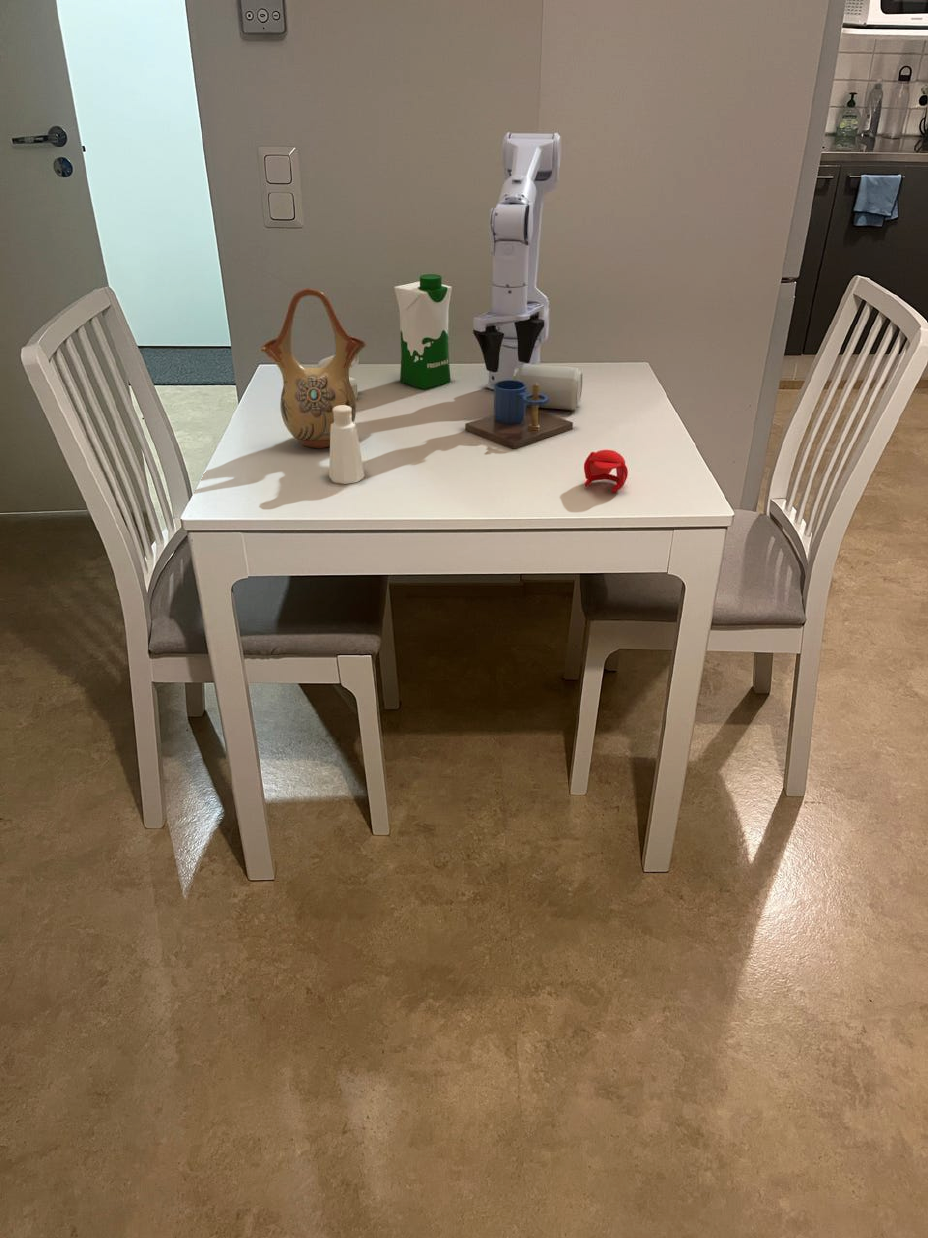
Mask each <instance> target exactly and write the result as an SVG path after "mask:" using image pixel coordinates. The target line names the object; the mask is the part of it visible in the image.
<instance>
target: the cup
mask: <svg viewBox="0 0 928 1238" xmlns="http://www.w3.org/2000/svg"><path fill="white" fill-rule="evenodd" d="M532 396H533V394H528V393H526V384H525V383H523V382H520V381H514V380H505V381H500V382H496V383H495V384H494V390H493V415H494V418H495V420H496V421H497V422H499V423H503V424H517V423H521V422H522V421H524V418H525V413H526V404H528V405H543V404H546V403H548V397H547V396H546V395H543V394H539V397H538V398H540V399H543V400H541V401H531V400H528V399H530V398H532Z"/></svg>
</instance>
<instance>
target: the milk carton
mask: <svg viewBox="0 0 928 1238" xmlns="http://www.w3.org/2000/svg"><path fill="white" fill-rule="evenodd" d="M442 281H443V280H442V275H440V274H434V273H433V274H432V273H430V274H429V273H427V274H422V275H420V276H419V281H415V282H411V283H407V284H402V285H397V286H394V287H393V288H394V292H395V296H396V301H397V305H398V308H399V328H400V329H399V330H400V331H399V332H400V374H399V375H400V376H399V378H400V379H399V382H400V383H403V384H407V385H409V386H413V387H416V388H419V389H422V390H428V389H430V388H434V387H438V386H440V385H444V384H448V383H451V380H452V379H451V367H450V366H451V365H450V352H449V351H450V350H449V349H450V348H449V347H450V346H449V343H450V342H449V308H450V307H449V306H450V301H451V295H452V291H453V286H450V285H447V284H442Z"/></svg>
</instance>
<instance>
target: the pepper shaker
mask: <svg viewBox="0 0 928 1238" xmlns="http://www.w3.org/2000/svg"><path fill="white" fill-rule="evenodd" d="M351 411H352V408H351V407H349V406H346V405H339V406H336V407H334V408H333V414H334V415H333V416H334V423H332V424H331V429H330V447H329V466H328V467H329V468H328V469H329V470H328V472H329V473H328V476H329V478H330V480H331V481H332V482H333V483H336V484H342V485H348V484H355V483H359V482H360V481H362V479H364V478H365V476H366V475H365V471H364V464H363V459H362V453H361V447H360V442H359V435H358V430H357V425H356V423H355V421H354V422H353V421H352V419H351V418H352V417H351V416H352V414H351Z"/></svg>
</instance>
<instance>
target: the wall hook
mask: <svg viewBox="0 0 928 1238" xmlns="http://www.w3.org/2000/svg"><path fill="white" fill-rule="evenodd" d="M334 355H335V354H333V355H331V356H328V357H325V358H323V359H321V360H319V362H318V363H317V365H316V368H319V367H323V366H325V365H327V364H328V363H329V362H330V361H331V360H332V359H333V357H334ZM359 360H360V358H359V353H358V354H357V356H356V357H355V358H354V360H353V361H352V363H351V366H350V368H353V367H355V366H357V365H358V364H359ZM349 382H350V385H351V387H352V390H353V392H354V395H355V400H356V399H357V398H358V396H359V393H358V381H357V380H356V379H355V378H353V377H350V376H349Z"/></svg>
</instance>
